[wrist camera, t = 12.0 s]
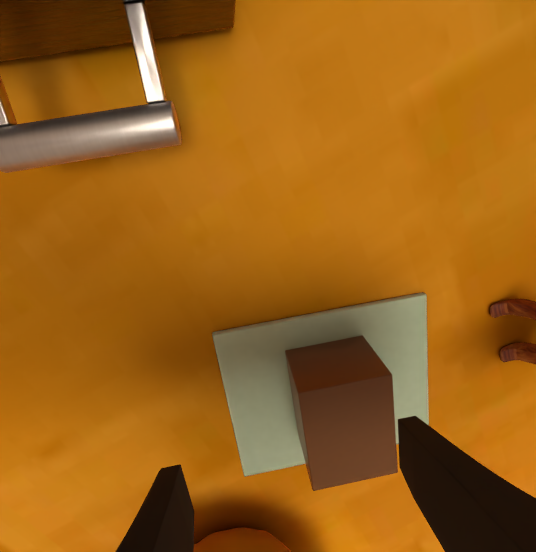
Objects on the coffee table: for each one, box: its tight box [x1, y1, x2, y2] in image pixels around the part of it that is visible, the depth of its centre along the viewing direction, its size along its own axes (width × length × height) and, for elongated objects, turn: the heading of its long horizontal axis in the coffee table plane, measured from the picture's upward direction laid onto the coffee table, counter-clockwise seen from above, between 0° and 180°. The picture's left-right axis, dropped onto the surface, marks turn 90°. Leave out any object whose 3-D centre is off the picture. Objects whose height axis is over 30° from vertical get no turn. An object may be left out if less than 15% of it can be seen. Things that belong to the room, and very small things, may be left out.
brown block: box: [285, 335, 398, 491], centre depth 20 cm, size 4×6×4 cm
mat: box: [212, 292, 429, 476], centre depth 22 cm, size 12×10×1 cm
